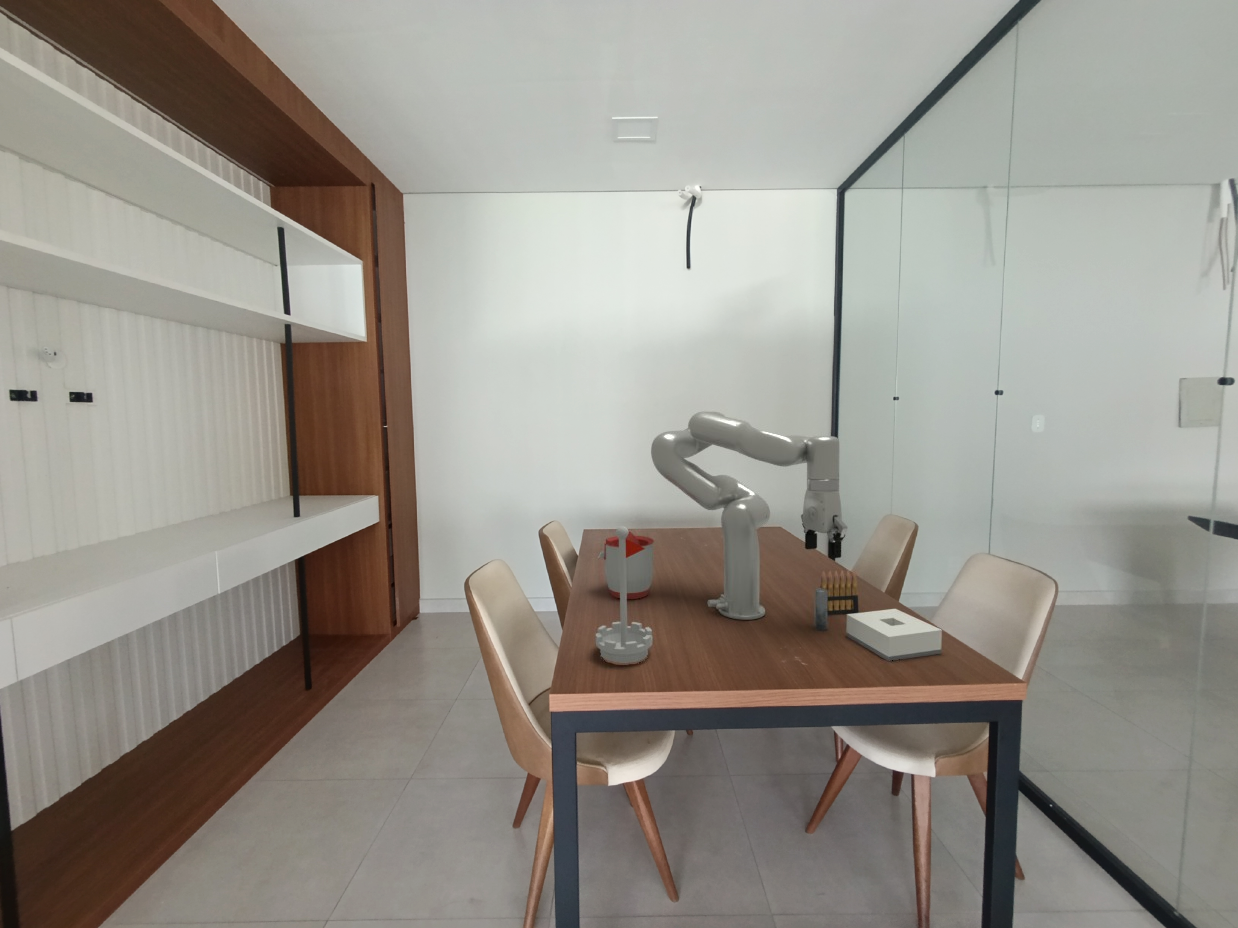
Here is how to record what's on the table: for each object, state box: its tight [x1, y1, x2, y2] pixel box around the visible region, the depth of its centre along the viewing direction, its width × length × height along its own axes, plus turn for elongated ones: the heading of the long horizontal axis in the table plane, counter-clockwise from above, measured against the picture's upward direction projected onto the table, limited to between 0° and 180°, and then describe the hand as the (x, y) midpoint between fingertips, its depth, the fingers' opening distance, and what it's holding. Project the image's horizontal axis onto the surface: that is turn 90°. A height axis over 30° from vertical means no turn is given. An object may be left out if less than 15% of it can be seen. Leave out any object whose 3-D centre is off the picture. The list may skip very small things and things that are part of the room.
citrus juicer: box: [597, 530, 655, 600], centre depth 162 cm, size 16×17×20 cm
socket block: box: [846, 608, 943, 662], centre depth 123 cm, size 14×14×6 cm
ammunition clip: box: [819, 569, 860, 616], centre depth 143 cm, size 11×2×12 cm, turn 96°
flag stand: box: [595, 525, 653, 663], centre depth 119 cm, size 13×13×30 cm
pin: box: [814, 587, 828, 631], centre depth 133 cm, size 3×3×10 cm
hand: (822, 553), depth 131 cm, fingers open, 9 cm apart
